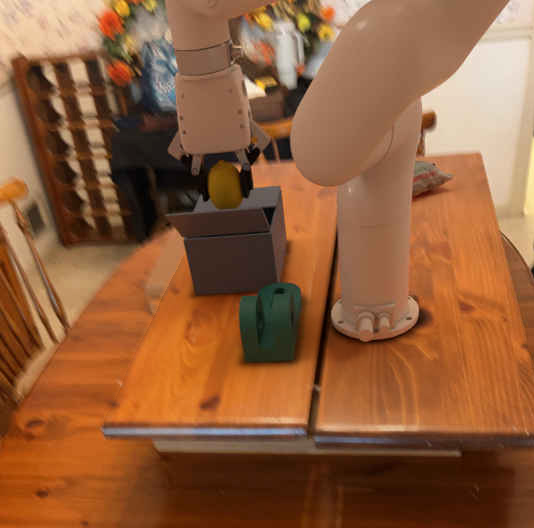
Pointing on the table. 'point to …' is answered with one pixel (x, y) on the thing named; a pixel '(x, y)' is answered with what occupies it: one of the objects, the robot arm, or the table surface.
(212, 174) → the lemon
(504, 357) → the table surface
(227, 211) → the carton flap
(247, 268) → the carton
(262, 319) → the bracket
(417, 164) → the packaged food
